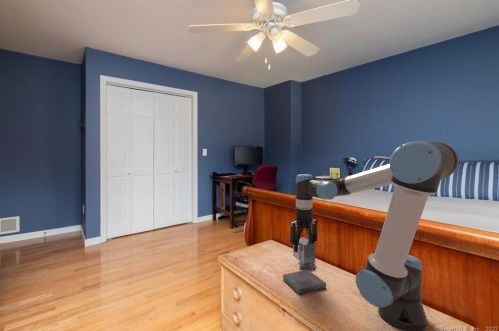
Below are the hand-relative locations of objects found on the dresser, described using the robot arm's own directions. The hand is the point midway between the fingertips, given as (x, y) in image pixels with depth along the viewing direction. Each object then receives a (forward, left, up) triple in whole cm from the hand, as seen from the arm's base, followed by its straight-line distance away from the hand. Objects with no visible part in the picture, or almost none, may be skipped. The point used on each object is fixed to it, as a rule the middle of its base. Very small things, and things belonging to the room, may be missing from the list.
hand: (303, 257), depth 112 cm
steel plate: (0, 0, -12) cm, 12 cm away
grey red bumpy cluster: (+15, -12, -13) cm, 23 cm away
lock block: (0, 0, 0) cm, 0 cm away
